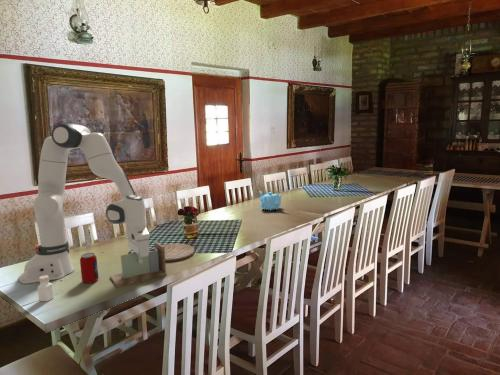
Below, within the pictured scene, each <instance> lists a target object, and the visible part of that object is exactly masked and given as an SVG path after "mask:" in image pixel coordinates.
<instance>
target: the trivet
mask: <svg viewBox="0 0 500 375" xmlns="http://www.w3.org/2000/svg"><path fill="white" fill-rule="evenodd" d="M161 245H162V246H164V251H165V264H166V263H177V262H179V261H183V260H186V259H189V258H191V257H193V256H194V254H195V247H193V246H192V245H189V244H187V243H186V244H185V243H166V244H161ZM153 248H155V246H153V247H152V248H150V249H153Z"/></svg>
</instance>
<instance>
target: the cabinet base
mask: <svg viewBox="0 0 500 375" xmlns="http://www.w3.org/2000/svg"><path fill="white" fill-rule="evenodd" d="M162 245H163V244H160V243H159V242H158V241H154V247H155V248H156V249H157V250H158V260H159V271H157V272H153V273H151V272H150V273H146V274H142V275H137V276H133V277H129V278H125V279H124V278H123V277H122V272H121V273H116V274H112V275H110V276H109V278H110V280H111V281H112V282H113V284H114V285H115V287H116V288H119V287H123V286H124V287H125V286H128V285H132V284H136V283H140V282H144V281H147V280H152V279H156V278H160V277H164V276H167V275H168V274H167V270H166V269H167V268H166V263H165V251H164V246H162Z"/></svg>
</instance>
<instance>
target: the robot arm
mask: <svg viewBox="0 0 500 375" xmlns="http://www.w3.org/2000/svg"><path fill="white" fill-rule="evenodd" d="M72 150H74V151H75V150H82V151H83V153H84V155H85V159H86V162H87V164H88V167H89V169H90V171H91V173H93V174H94V175H95V176H97V177H100V178H104V179H107V180H110V181H112V182H113V183H114V184H115V185H116V187H117V189H118V191H119V193H120V196H121V197H122V199H120V200H118V201H115V202H113V203H110V204H109V205H107V207H106V209H105V217H106V219H107V221H109V222H110V223H111V224H113V225H118V224H125V233H126V234H125V235H126V238H127V246H128V248H130V249H131V251H132V252H133V253H136V254H137V255H138V263H143V257H147V256H148V255H149V249H150V242H149V240H150V237H151V236H150V233H149V231H148V228H147V221H146V215H147V214H146V205H145V201H144V198H143V197H142V196H141V195H137V194H136V192H135V190H134V188H133V186H132V184H131V182H130V179H129V178H128V176H127V174H126V172H125V170H124V169H123V167H121V166H120V165H119V164H118V161H116V159H115V157H114V154H113V151H112V148H111V146H110V144H109V142H108V140H107V139H106V136H104V134H102V133H101V132H94V131H93V130H92V129H91V128H90V127H88V126H86V125H82V124H79V123H68V122H64V123H59V124H57V125H56V126H54V127H53V128H52V130H51V134H50V136H48V137H46V138H45V139H44V141H43V144H42V147H41V151H40V155H39V156H40V157H39V166H38V175H37V180H38V181H37V182H38V184H37V185H38V186H37V195H36V196H37V197H36V198H35V199H34V200H33V209H34V217H35V221H36V224H37V227H38V228H37V229H38V235H39V243H40V244H39V245H38V244H35V245H34V250H35V251H36V252H35V253H36V254H35V255H33V257H31V258H29V260H28V261H27V262H26V263H25V265H24V269H23V272H22V273H21V274H19V275H18V276H19V278H18V280H19V282H20V283H21V284H23V285H28V284H34V283H40V279H39V277H41V276H44V275H47V276H48V277H49V281H52V280H59V279H62V278H64V277H65V276H67V275H69V274H71V273H72V272H74V270H75V268H74V265H73V263H72V259H71V256H70V244H69V241H68V239H67V238H68V237H67V228H66V227H67V226H66V222H65V217H64V210H63V205H64V202H65V201H64V200H65V192H66V191H65V190H66V180H67V179H66V178H67V169H68V160H69V153H70V151H72Z"/></svg>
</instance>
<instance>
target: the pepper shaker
mask: <svg viewBox="0 0 500 375" xmlns="http://www.w3.org/2000/svg"><path fill="white" fill-rule="evenodd" d="M39 279H40V282H39V285H38V286H37V294H38V301H40V302H49V301H51V300H52V299H54V296H55V295H54V288H53V283H52V282H49V281H50V280H49V277H48V276H47V275H44V276H41V277H39Z"/></svg>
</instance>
